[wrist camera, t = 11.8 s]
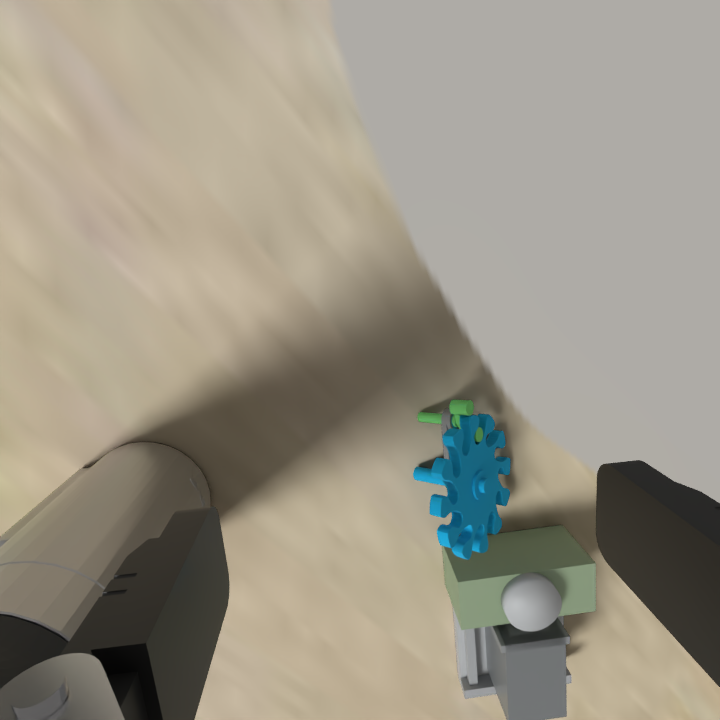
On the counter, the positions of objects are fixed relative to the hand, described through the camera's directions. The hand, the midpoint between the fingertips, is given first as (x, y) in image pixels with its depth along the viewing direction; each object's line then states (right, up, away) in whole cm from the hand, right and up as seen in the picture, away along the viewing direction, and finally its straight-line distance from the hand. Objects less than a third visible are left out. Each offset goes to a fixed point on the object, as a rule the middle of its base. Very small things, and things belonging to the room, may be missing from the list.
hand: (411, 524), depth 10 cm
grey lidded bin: (+12, -19, +30) cm, 37 cm away
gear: (+7, -4, +27) cm, 28 cm away
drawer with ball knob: (+11, -17, +30) cm, 36 cm away
